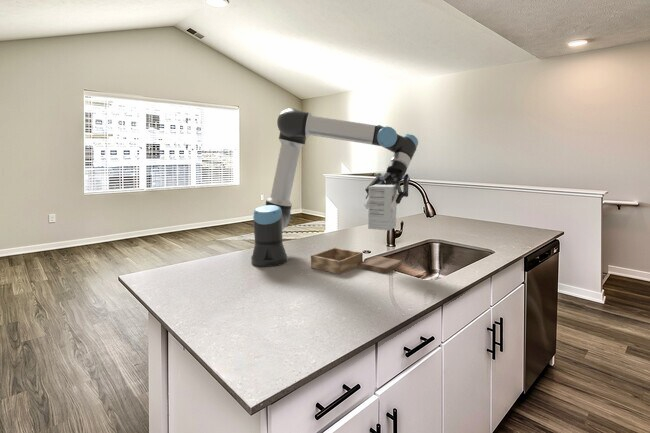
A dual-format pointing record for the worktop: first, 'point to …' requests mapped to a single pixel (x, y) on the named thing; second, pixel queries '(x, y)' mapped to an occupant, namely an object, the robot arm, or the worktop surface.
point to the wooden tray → (330, 257)
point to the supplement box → (381, 207)
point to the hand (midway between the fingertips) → (378, 208)
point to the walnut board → (380, 264)
